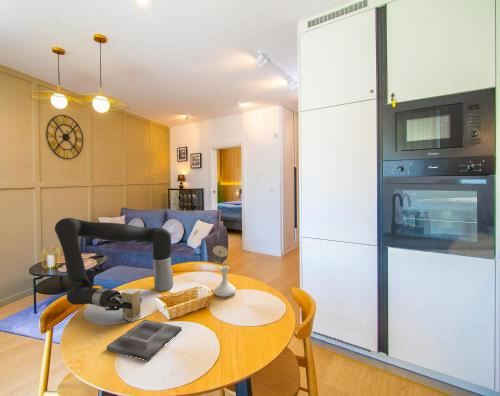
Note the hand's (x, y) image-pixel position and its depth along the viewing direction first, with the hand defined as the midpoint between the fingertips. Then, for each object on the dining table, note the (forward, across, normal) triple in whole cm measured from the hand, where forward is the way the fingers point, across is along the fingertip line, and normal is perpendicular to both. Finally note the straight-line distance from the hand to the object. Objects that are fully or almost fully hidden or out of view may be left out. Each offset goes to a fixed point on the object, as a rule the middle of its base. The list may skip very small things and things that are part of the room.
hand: (136, 303), depth 107 cm
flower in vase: (+24, +34, +7) cm, 42 cm away
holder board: (+14, -10, +7) cm, 19 cm away
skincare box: (-3, 0, +7) cm, 8 cm away
